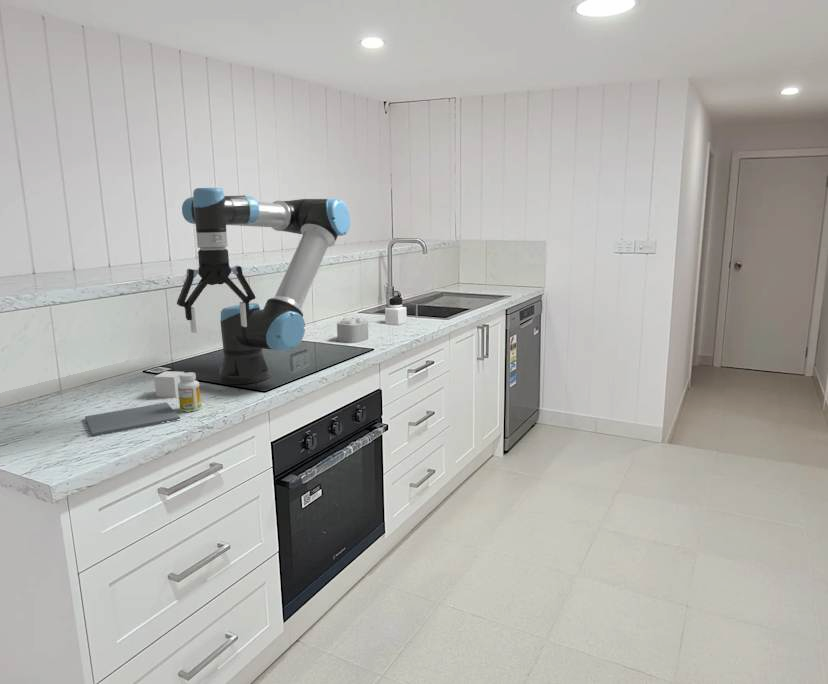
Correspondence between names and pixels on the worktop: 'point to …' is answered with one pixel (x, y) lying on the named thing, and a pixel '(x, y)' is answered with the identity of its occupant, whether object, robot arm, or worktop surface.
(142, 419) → the rubber mat
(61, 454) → the worktop surface
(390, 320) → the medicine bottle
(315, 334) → the worktop surface
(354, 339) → the lumpy-topped squat cylinder
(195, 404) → the supplement bottle
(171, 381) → the grey cube
